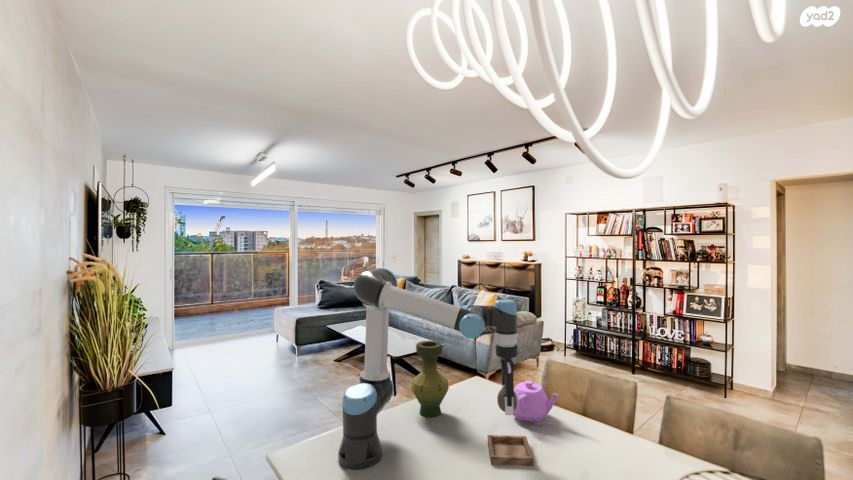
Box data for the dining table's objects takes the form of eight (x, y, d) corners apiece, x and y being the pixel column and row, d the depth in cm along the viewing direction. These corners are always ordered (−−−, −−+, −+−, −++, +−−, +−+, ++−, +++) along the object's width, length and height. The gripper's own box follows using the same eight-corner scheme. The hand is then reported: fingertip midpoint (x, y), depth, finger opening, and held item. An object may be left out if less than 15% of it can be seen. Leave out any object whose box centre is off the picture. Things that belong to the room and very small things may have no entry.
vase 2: (517, 415, 128) (517, 389, 128) (497, 413, 130) (496, 388, 130) (517, 406, 135) (516, 382, 135) (497, 405, 136) (497, 380, 136)
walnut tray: (490, 464, 126) (490, 456, 126) (487, 441, 140) (487, 434, 140) (533, 466, 125) (533, 458, 125) (526, 443, 139) (525, 436, 139)
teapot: (551, 437, 142) (551, 397, 142) (501, 424, 153) (500, 387, 153) (563, 416, 159) (562, 380, 159) (516, 405, 170) (516, 372, 170)
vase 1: (454, 409, 167) (453, 341, 167) (439, 425, 153) (438, 351, 153) (422, 402, 174) (421, 337, 174) (404, 417, 160) (403, 346, 160)
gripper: (522, 352, 122) (523, 423, 122) (513, 336, 142) (514, 397, 142) (498, 352, 123) (500, 423, 123) (493, 336, 142) (494, 397, 142)
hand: (507, 409), depth 132 cm, fingers closed on vase 2, 7 cm apart
